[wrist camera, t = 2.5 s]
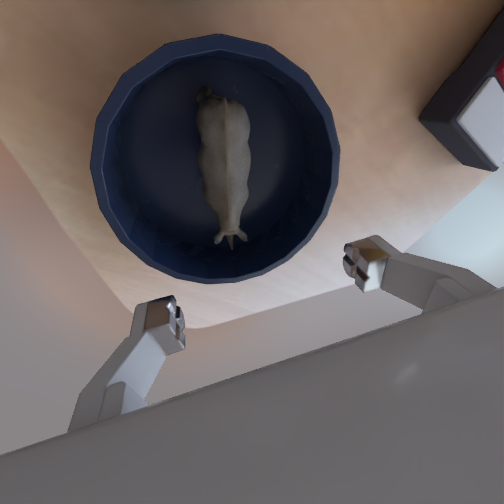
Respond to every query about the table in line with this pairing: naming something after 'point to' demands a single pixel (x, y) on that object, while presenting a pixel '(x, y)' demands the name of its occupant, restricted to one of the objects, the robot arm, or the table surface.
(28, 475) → the robot arm
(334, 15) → the table surface
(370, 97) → the table surface
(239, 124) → the rhino figurine
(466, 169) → the table surface
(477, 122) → the calculator
